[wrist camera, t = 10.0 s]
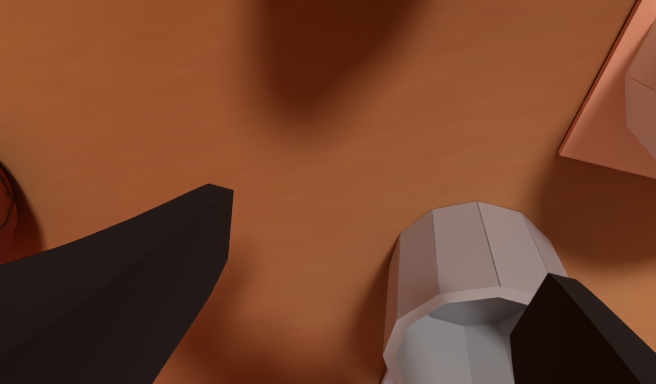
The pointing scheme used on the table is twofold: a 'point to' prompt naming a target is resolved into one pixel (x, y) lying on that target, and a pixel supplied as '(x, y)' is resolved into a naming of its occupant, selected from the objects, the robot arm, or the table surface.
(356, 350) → the table surface
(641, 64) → the tube
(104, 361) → the robot arm
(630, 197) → the table surface
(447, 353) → the grey faceted cup
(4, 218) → the potted plant
